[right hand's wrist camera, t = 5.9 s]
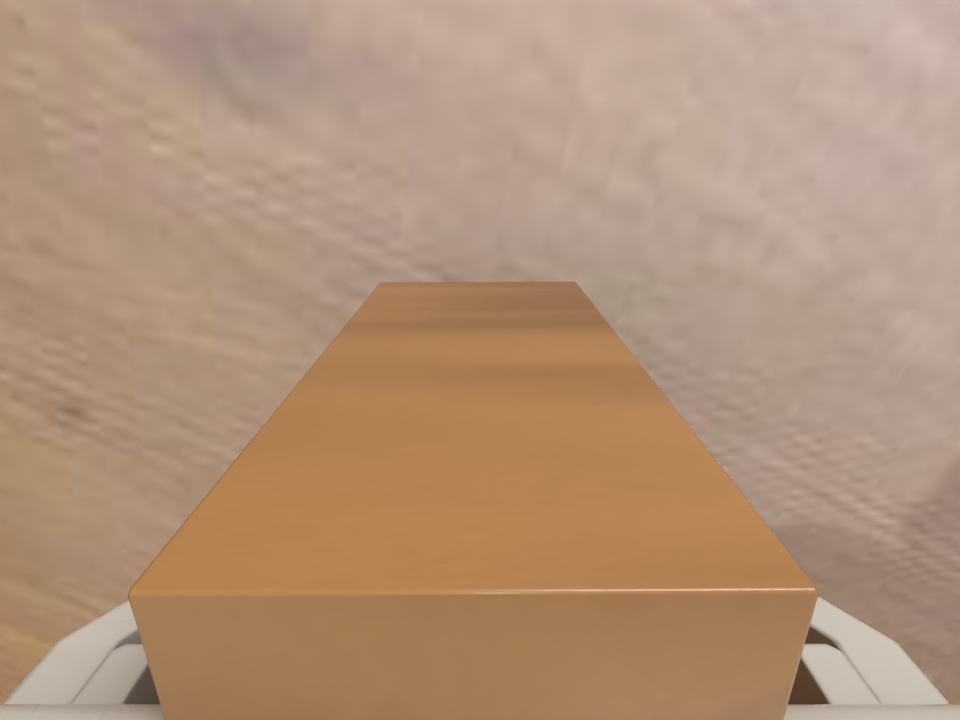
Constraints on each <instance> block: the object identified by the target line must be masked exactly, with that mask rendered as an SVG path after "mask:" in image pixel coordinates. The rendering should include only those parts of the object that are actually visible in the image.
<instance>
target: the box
mask: <svg viewBox="0 0 960 720" xmlns="http://www.w3.org/2000/svg"><path fill="white" fill-rule="evenodd" d="M128 598H129V601H130V605H131V608H132V611H133V615H134V618H135V621H136V625H137V628H138V631H139V635H140V638H141V641H142V645H143V648H144V651H145V655H146V658H147V661H148V665H149V668H150V671H151V675H152V678H153V681H154V685H155V688H156V691H157V695H158V698H159V701H160V705H161V708H162V711H163V715H164V718H165V720H784V716H785V713H786V709H787V705H788V702H789V698H790V695H791V691H792V688H793V684H794V680H795V677H796V673H797V670H798V666H799V662H800V659H801V655H802V652H803V648H804V645H805V641H806V637H807V634H808V630H809V627H810V623H811V619H812V616H813V612H814V609H815V605H816V602H817V598H818V590H817V587H816V586H815V585H814V584H813V582H812V581H811V580H810V578H809V577H808V576H807V575H806V573H805V572H804V571H803V570H802V568H801V567H800V566H799V565H798V563H797V562H796V561H795V559H794V558H793V557H792V556H791V554H790V553H789V552H788V551H787V549H786V548H785V547H784V546H783V544H782V543H781V542H780V540H779V539H778V538H777V537H776V535H775V534H774V533H773V532H772V530H771V529H770V528H769V527H768V525H767V524H766V523H765V521H764V520H763V519H762V518H761V516H760V515H759V514H758V513H757V511H756V510H755V509H754V508H753V506H752V505H751V504H750V502H749V501H748V500H747V499H746V497H745V496H744V495H743V494H742V492H741V491H740V490H739V489H738V487H737V486H736V485H735V483H734V482H733V481H732V480H731V478H730V477H729V476H728V475H727V473H726V472H725V471H724V470H723V468H722V467H721V466H720V464H719V463H718V462H717V461H716V459H715V458H714V457H713V456H712V454H711V453H710V452H709V451H708V449H707V448H706V447H705V445H704V444H703V443H702V442H701V440H700V439H699V438H698V437H697V435H696V434H695V433H694V432H693V430H692V429H691V428H690V426H689V425H688V424H687V423H686V421H685V420H684V419H683V418H682V416H681V415H680V414H679V413H678V411H677V410H676V409H675V407H674V406H673V405H672V404H671V402H670V401H669V400H668V399H667V397H666V396H665V395H664V394H663V392H662V391H661V390H660V388H659V387H658V386H657V385H656V383H655V382H654V381H653V380H652V378H651V377H650V376H649V375H648V373H647V372H646V371H645V369H644V368H643V367H642V366H641V364H640V363H639V362H638V361H637V359H636V358H635V357H634V356H633V354H632V353H631V352H630V350H629V349H628V348H627V347H626V345H625V344H624V343H623V342H622V340H621V339H620V338H619V337H618V335H617V334H616V333H615V331H614V330H613V329H612V328H611V326H610V325H609V324H608V323H607V321H606V320H605V319H604V318H603V316H602V315H601V314H600V312H599V311H598V310H597V309H596V307H595V306H594V305H593V304H592V302H591V301H590V300H589V299H588V297H587V296H586V295H585V293H584V292H583V291H582V290H581V288H580V287H579V286H578V285H577V283H576V282H407V283H380V284H379V285H378V287H377V288H376V289H375V290H374V291H373V293H372V294H371V295H370V296H369V298H368V299H367V300H366V301H365V302H364V304H363V305H362V306H361V307H360V309H359V310H358V311H357V312H356V313H355V315H354V316H353V317H352V318H351V320H350V321H349V322H348V323H347V324H346V326H345V327H344V328H343V329H342V331H341V332H340V333H339V334H338V335H337V337H336V338H335V339H334V340H333V342H332V343H331V344H330V345H329V346H328V348H327V349H326V350H325V351H324V353H323V354H322V355H321V356H320V357H319V359H318V360H317V361H316V362H315V364H314V365H313V366H312V367H311V368H310V370H309V371H308V372H307V373H306V375H305V376H304V377H303V378H302V379H301V381H300V382H299V383H298V384H297V386H296V387H295V388H294V389H293V390H292V392H291V393H290V394H289V395H288V397H287V398H286V399H285V400H284V401H283V403H282V404H281V405H280V406H279V408H278V409H277V410H276V411H275V412H274V414H273V415H272V416H271V417H270V419H269V420H268V421H267V422H266V424H265V425H264V426H263V427H262V428H261V430H260V431H259V432H258V433H257V435H256V436H255V437H254V438H253V439H252V441H251V442H250V443H249V444H248V446H247V447H246V448H245V449H244V450H243V452H242V453H241V454H240V455H239V457H238V458H237V459H236V460H235V461H234V463H233V464H232V465H231V466H230V468H229V469H228V470H227V471H226V472H225V474H224V475H223V476H222V477H221V479H220V480H219V481H218V482H217V483H216V485H215V486H214V487H213V488H212V490H211V491H210V492H209V493H208V494H207V496H206V497H205V498H204V499H203V501H202V502H201V503H200V504H199V505H198V507H197V508H196V509H195V510H194V512H193V513H192V514H191V515H190V516H189V518H188V519H187V520H186V521H185V523H184V524H183V525H182V526H181V527H180V529H179V530H178V531H177V532H176V534H175V535H174V536H173V537H172V538H171V540H170V541H169V542H168V543H167V545H166V546H165V547H164V548H163V549H162V551H161V552H160V553H159V554H158V556H157V557H156V558H155V559H154V560H153V562H152V563H151V564H150V565H149V567H148V568H147V569H146V570H145V571H144V573H143V574H142V575H141V576H140V578H139V579H138V580H137V581H136V582H135V584H134V585H133V586H132V587H131V589H130V591H129V594H128Z"/></svg>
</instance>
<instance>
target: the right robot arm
mask: <svg viewBox="0 0 960 720" xmlns="http://www.w3.org/2000/svg"><path fill="white" fill-rule="evenodd" d="M0 720H165V718H164V715H163V711H162V708H161V705H160V701H159V698H158V695H157V691H156V688H155V685H154V681H153V678H152V675H151V671H150V668H149V665H148V661H147V658H146V655H145V651H144V648H143V645H142V641H141V638H140V635H139V631H138V628H137V625H136V621H135V618H134V615H133V611H132V608H131V605H130V601H129V600H128V601H126V602H125V603H123V604H121V605H119V606H118V607H116V608H114V609H112V610H111V611H109V612H107V613H106V614H104V615H102V616H100V617H99V618H97V619H95V620H93V621H92V622H90V623H88V624H87V625H85V626H83V627H81V628H80V629H78V630H76V631H74V632H73V633H71V634H69V635H68V636H66V637H64V638H62V639H61V640H59V641H57V642H56V644H55V645H54V646H53V647H52V648H51V649H50V650H49V651H48V653H47V654H46V655H45V656H44V657H43V658H42V659H41V660H40V662H39V663H38V664H37V665H36V666H35V667H34V668H33V670H32V671H31V672H30V673H29V674H28V675H27V676H26V677H25V679H24V680H23V681H22V682H21V683H20V684H19V685H18V686H17V688H16V689H15V690H14V691H13V692H12V693H11V694H10V696H9V697H8V698H7V699H6V700H5V701H4V702H3V703H2V704H0ZM784 720H960V704H949V702H948V701H947V700H946V699H945V698H944V697H943V696H942V694H941V693H940V692H939V691H938V690H937V689H936V687H935V686H934V685H933V684H932V683H931V682H930V680H929V679H928V678H927V677H926V676H925V675H924V674H923V672H922V671H921V670H920V669H919V668H918V667H917V665H916V664H915V663H914V662H913V661H912V660H911V658H910V657H909V656H908V655H907V654H906V653H905V652H904V650H903V649H902V648H901V647H900V646H899V645H898V643H897V642H895V641H894V640H892V639H890V638H888V637H887V636H885V635H883V634H882V633H880V632H878V631H876V630H875V629H873V628H871V627H870V626H868V625H866V624H864V623H863V622H861V621H859V620H858V619H856V618H854V617H853V616H851V615H849V614H847V613H846V612H844V611H842V610H841V609H839V608H837V607H835V606H834V605H832V604H830V603H829V602H827V601H825V600H824V599H822V598H820V597H818V598H817V602H816V605H815V609H814V612H813V616H812V619H811V623H810V627H809V630H808V634H807V637H806V641H805V645H804V648H803V652H802V655H801V659H800V662H799V666H798V670H797V673H796V677H795V680H794V684H793V688H792V691H791V695H790V698H789V702H788V705H787V709H786V713H785V716H784Z"/></svg>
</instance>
